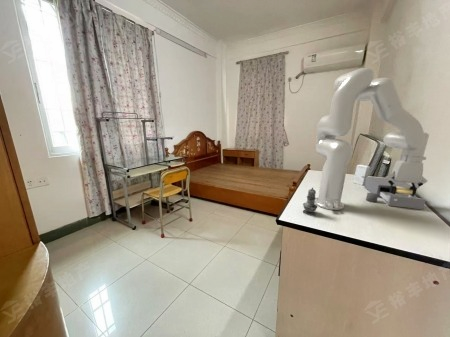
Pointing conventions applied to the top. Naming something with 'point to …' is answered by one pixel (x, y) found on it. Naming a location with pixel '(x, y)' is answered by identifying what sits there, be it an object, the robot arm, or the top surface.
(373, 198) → the puck
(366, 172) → the skincare box
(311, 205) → the grey stone pagoda
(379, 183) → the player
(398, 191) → the disc
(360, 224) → the top surface
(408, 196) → the grey drawer
